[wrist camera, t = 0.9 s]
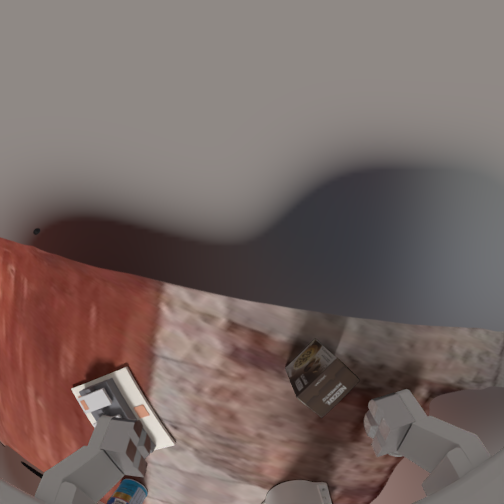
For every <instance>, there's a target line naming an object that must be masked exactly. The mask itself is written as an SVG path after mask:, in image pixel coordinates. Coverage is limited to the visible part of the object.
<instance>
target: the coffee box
mask: <svg viewBox="0 0 504 504" xmlns="http://www.w3.org/2000/svg"><path fill="white" fill-rule="evenodd" d="M285 369H286V372H287V374H288V377H289V379H290V382H291V384H292V387H293V389H294V392H295V394H296V397H297V398H298V399H299V400H300V401H301V402H302V403H303V404H305V405H306V406H307V407H308V408H310V409H311V410H312V411H313V412H315V413H316V414H317V415H319V416H320V417H321V418H322V417H324V416H325V415H326V414H327V413H328V412H329V411H330V410H331V409H332V408H333V407H334V406H335V405H336V404H337V403H339V402H340V400H342V399H343V398H344V397H345V396H346V395H347V394H348V393H349V392H350V391H351V390H352V389H353V388H354V386H355V385H356V384H357V383H358V382H359V381H360V379H359V378H358V377H357V376H356V375H355V374H354V373H353V372H352V371H351V370H350V369H349V368H348V367H347V366H345V365H344V364H343V363H342V362H341V361H340V360H339V359H338V358H337V357H335V356H334V355H333V354H332V353H331V352H330V351H329V350H328V349H326V348H325V347H324V346H323V345H322V344H321V343H320V342H319V341H318V340H317V339H314V340H313V341H312V342H311V343H310V344H309V345H308V346H307V347H306V348H305V349H304V350H303V351H302V352H301V353H300V354H299V355H298V356H297V357H296V358H295V359H294V360H293V361H292V362H291V363H290V364H289V365H288V366H287V367H286V368H285Z"/></svg>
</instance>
